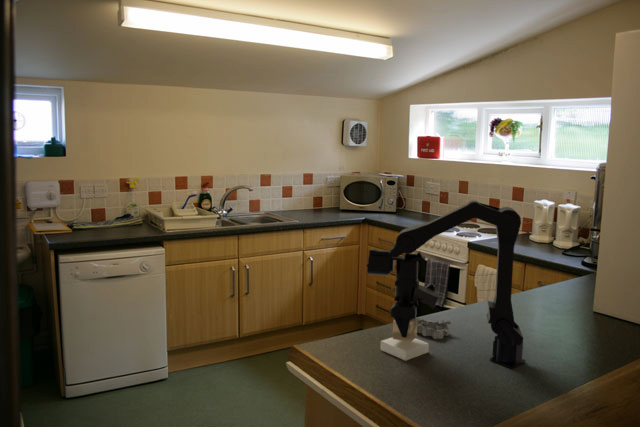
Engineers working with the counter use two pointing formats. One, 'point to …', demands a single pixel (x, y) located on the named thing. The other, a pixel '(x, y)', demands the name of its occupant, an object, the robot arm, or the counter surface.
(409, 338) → the cube
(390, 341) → the base
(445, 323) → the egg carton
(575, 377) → the counter surface
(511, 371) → the counter surface
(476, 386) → the counter surface
